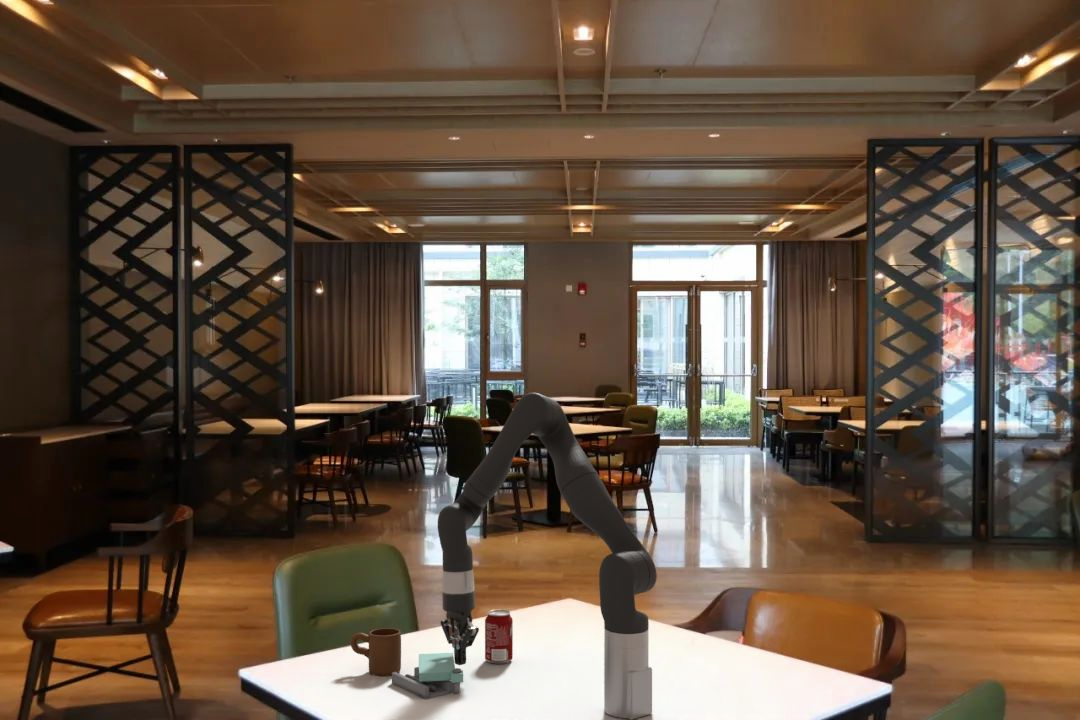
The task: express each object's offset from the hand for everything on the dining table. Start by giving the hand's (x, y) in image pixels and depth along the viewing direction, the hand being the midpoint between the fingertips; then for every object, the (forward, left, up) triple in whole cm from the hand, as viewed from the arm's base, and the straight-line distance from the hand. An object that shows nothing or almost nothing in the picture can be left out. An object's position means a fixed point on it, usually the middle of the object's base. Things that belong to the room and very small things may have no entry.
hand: (460, 663), depth 225 cm
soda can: (+4, -14, -3) cm, 15 cm away
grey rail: (-2, +11, -3) cm, 11 cm away
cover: (-1, +7, 0) cm, 7 cm away
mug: (+16, +14, -3) cm, 21 cm away
